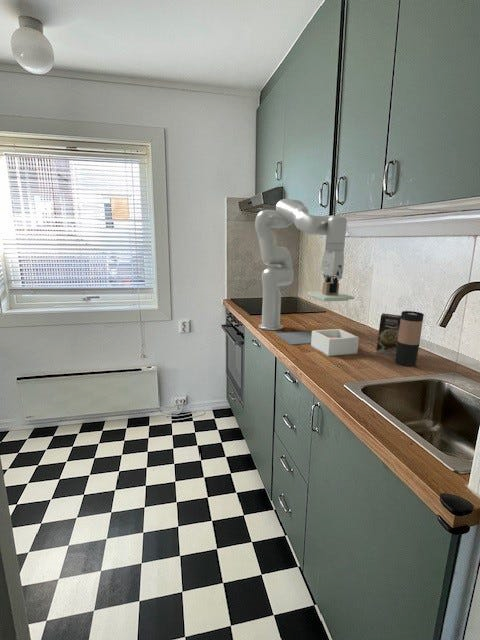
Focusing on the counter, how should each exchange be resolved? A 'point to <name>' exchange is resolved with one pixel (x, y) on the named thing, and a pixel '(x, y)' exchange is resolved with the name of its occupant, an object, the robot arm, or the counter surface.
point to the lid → (330, 294)
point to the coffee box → (388, 334)
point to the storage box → (334, 342)
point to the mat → (296, 337)
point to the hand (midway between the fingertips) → (330, 291)
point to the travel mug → (409, 338)
